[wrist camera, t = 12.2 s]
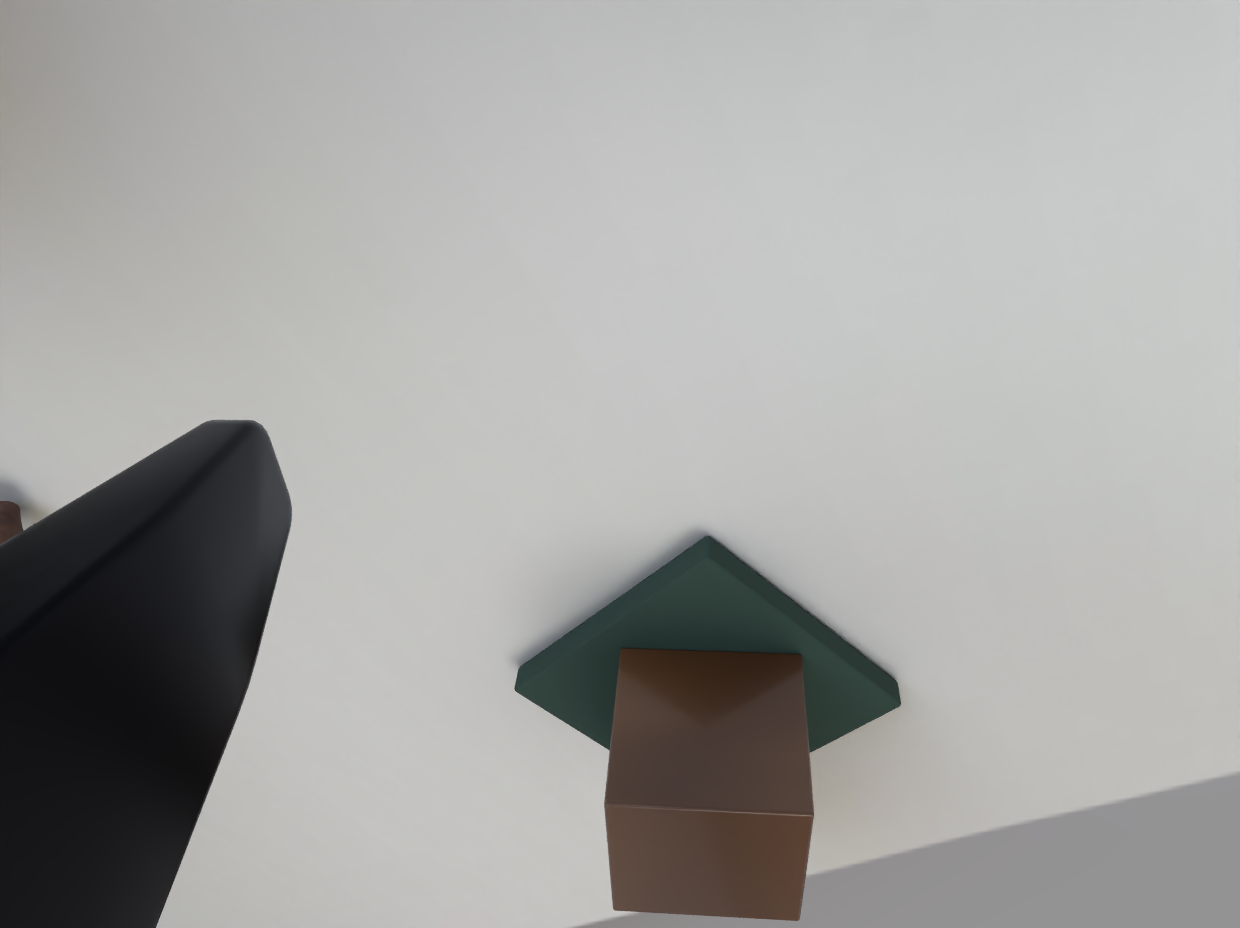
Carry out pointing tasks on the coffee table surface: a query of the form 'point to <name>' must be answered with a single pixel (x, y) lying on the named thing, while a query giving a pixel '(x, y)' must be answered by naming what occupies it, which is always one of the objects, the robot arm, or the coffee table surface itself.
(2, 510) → the figurine
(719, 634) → the mat
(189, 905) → the coffee table surface
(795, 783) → the cube
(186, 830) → the robot arm
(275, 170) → the coffee table surface
